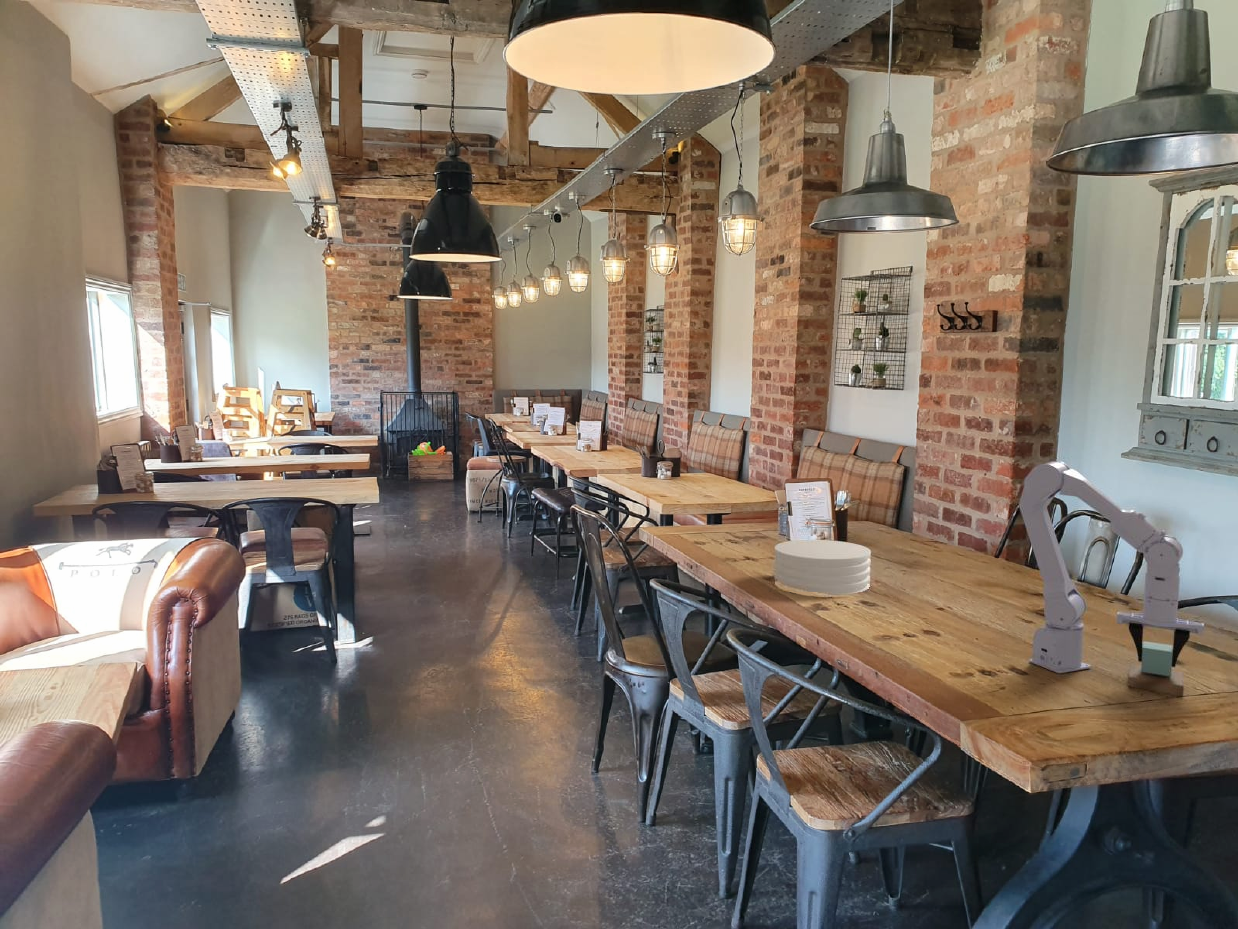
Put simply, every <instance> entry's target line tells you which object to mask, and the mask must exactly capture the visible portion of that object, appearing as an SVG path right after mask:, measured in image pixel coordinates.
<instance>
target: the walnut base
mask: <svg viewBox="0 0 1238 929" xmlns="http://www.w3.org/2000/svg"><path fill="white" fill-rule="evenodd" d="M1141 666H1142V664H1141V665H1140V664H1133V663H1130V664H1129V675H1128V687H1129V686H1130V688H1134V689H1135V688H1136V689H1140V688H1141V689H1142V690H1146V691H1147V690H1148V691H1153V692H1158V691H1160V692H1159V693H1164V694H1168V695H1169V694H1171V695H1175V696H1176V695H1177V696H1181V695H1182V697H1184V688H1185V687H1184V686H1185V685H1184V675H1183V674H1184V673H1183V671H1178V670H1171V676H1165V675H1159V674H1152V673H1146V672H1141Z"/></svg>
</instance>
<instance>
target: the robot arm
mask: <svg viewBox="0 0 1238 929" xmlns="http://www.w3.org/2000/svg"><path fill="white" fill-rule="evenodd" d="M1058 493H1059V494H1058ZM1057 494H1058V495H1059V496H1060V495H1061V496H1062V495H1063V496H1069V497H1075V498H1078V499H1079V500H1080V501H1082V502H1083V503H1084V504H1086V505H1087V506H1088V507H1090V508H1092V509H1093V510H1094V511H1096V512H1097V513H1099V514H1100V515H1101V516H1103V517H1104V518H1105V519H1106V520H1108V521H1110V524H1111V525H1110V526H1111V531H1112V532H1113V533H1115V534H1116V535H1117V536H1119V537H1120V538H1121V539H1122V540H1124V541H1125V542H1126V543H1127V544H1128V545H1129V546H1131V547H1132V548H1133V549H1135V550H1136V551H1137V552H1138V553H1141V554H1142V553H1143V557H1144V561H1145V562H1146V572H1145V573H1144V574H1145V576H1144V594H1143V608H1142V613H1136V612H1135V613H1134V612H1120V611H1118V612H1117V613H1116V624H1120V625H1122V624H1127V625H1128V631H1129V633H1130V636H1131V637H1132V640H1133V643H1134V645H1135V648H1136V649H1135V650H1136V652H1137V653H1136V654H1137V661H1138V662H1139V663H1142V650H1143V636H1144V627H1147V628H1148V627H1149V628H1154V629H1163V630H1170V631H1173V641H1172V643H1173V644H1172V649H1173V655H1172V668H1176V664H1177V661H1178V658H1179V656H1180V653H1181V651H1182V650H1183V648H1184V646H1185V645H1186V644H1187V642H1189V639H1190V636H1191V635H1190V634H1191V633H1192V634H1196V635H1200V636H1204V633H1205V632H1204V631H1205V624H1204V622H1198V621H1197V622H1196V621H1193V620H1187V619H1182V618H1178V609H1179V608H1178V607H1179V593H1180V580H1181V579H1180V578H1181V576H1180V570H1181V568H1180V563H1179V562H1180V560H1181V559H1182V557H1183V554H1184V549H1183V546H1182V545H1181V543H1180V541H1178V540H1177V538H1176V537H1174V536H1172V535H1168V533H1167V532H1166V531H1165V530H1164V529H1163V530H1160V529H1159V528H1157V527H1156V526H1155V525H1153V523H1151V522H1150V521H1149V520H1147V519H1146V517H1147V515H1146V514H1144V513H1143V512H1142V511H1140V512H1137V511H1135V510H1134V509H1132V510H1131V509H1129V510H1127V509H1126V510H1124V509H1123V508H1121V507H1120V506H1119V505H1118V504H1116V503H1115V502H1114V501H1113V500H1112V499H1110V497H1109V496H1107V495H1106V494H1105V493H1104V492H1103V491H1101V490H1100V489H1099V488H1098V487H1096V486H1095V485H1094V484H1093V483H1091V482H1090V481H1089V480H1088V479H1087V478H1085V477H1084V476H1083V475H1082V474H1081V473H1080V472H1078V471H1077V470H1076V469H1073V468H1070V467H1069V466H1068V464H1066V463H1065V462H1063V461H1060V460H1053V461H1048V462H1046V463H1041V464H1038V465H1036V466H1035V467H1033V468H1032V469H1031V471H1029V473H1028V474H1027V476H1025V478H1024V485H1023V490H1022V492H1021V495H1020V500H1019V504H1018V506H1019V511H1020V513H1021V516H1022V519H1023V521H1024V527H1025V528H1026V532H1027V535H1028V537H1029V541H1030V544H1031V547H1032V550H1033V553H1034V554H1033V555H1034V557H1035V560H1036V563H1037V566H1038V569H1039V572H1040V575H1041V578H1042V579H1041V580H1042V582H1043V591H1042V594H1043V595H1042V596H1043V599H1044V607H1043V614H1044V617H1045V623H1044V624H1043V626H1041V627H1039V628H1037V629H1036V630H1035V632H1034V633H1033V638H1032V641H1033V642H1032V657H1031V658H1030V659H1028V662H1029V663H1032V664H1034V665H1036V666H1039V667H1042V668H1044V669H1047V670H1049V671H1052V672H1055V673H1057V674H1063V673H1068V672H1069V673H1070V672H1074V671H1080V670H1085V669H1086V670H1087V669H1091V668H1092V665H1090V664H1088V663H1085V662H1083V649H1084V648H1083V644H1084V626H1085V624H1084V623H1083V621H1082V619H1081V617H1083V615H1084V614H1086V611H1087V602H1086V600H1085V597H1084V596H1082V594H1080V592H1079V591H1078V589H1077V587H1076V584H1075V583H1074V581H1073V580H1071V579H1070V578H1069V575H1068V572H1067V570H1068V568H1067V566H1066V563H1065V561H1064V556H1063V554H1062V551H1061V547H1060V544H1059V542H1058V539H1057V535H1056V533H1055V529H1054V526H1053V523H1052V519H1051V517H1050V514H1049V511H1048V506H1049V505H1050V504H1051V502H1052V500H1053V499H1054V498H1055V496H1056V495H1057ZM1066 568H1067V569H1066Z"/></svg>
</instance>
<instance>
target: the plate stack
mask: <svg viewBox="0 0 1238 929" xmlns="http://www.w3.org/2000/svg"><path fill="white" fill-rule="evenodd" d="M774 553H775V554H774V556H773V557H774V559H773V560H774V564H773V565H774V567H773V568H774V573H773V574H774V575H773V576H774V579H777V580H778V582H780V583H781V584H783V585H787V586H788V587H791V588H794V589H799V590H803V591H807V592H818V593H825V594H826V593H827V594H828V595H841V594H845V595H846V594H853V593H858V592H863V591H865V590H867V589H869V587H870V588H871V584H870V582H871V575H870V574H871V562H872V561H871V560H872V559H871V556H872V555H871V554H872V550H871V549H870V548H868V547H866V546H864V545H861V544H857V543H852V542H848V541H847V542H846V541H840V540H839V541H838V540H831V539H830V540H829V539H798V540H790V541H789V540H788V541H783V542H780V543H778V544H775V546H774Z"/></svg>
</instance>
